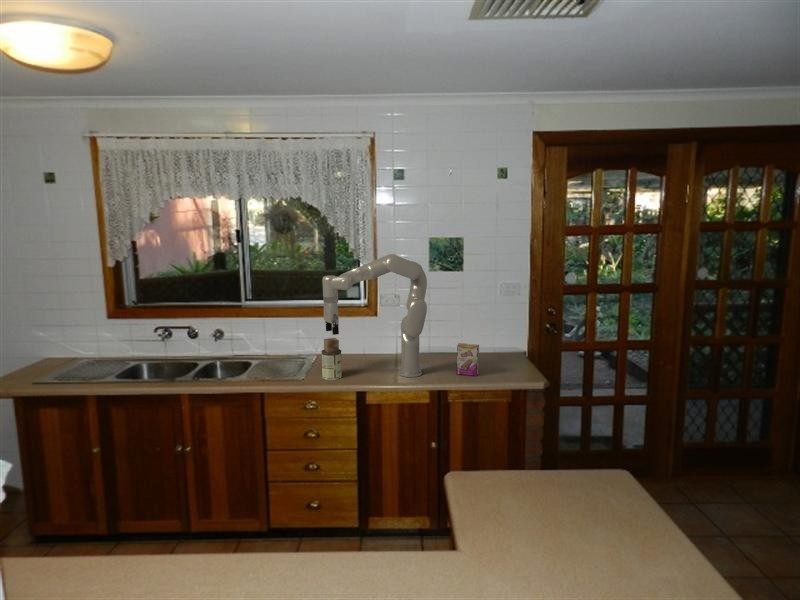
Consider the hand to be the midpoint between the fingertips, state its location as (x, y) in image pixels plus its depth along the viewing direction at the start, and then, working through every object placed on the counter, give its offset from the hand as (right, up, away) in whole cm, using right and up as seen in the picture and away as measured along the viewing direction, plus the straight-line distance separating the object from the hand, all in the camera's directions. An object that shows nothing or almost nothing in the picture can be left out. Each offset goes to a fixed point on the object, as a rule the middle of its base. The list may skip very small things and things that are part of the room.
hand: (332, 332), depth 262 cm
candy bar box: (+71, -23, +9) cm, 75 cm away
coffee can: (-1, -24, +4) cm, 24 cm away
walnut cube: (-1, -10, +1) cm, 10 cm away
